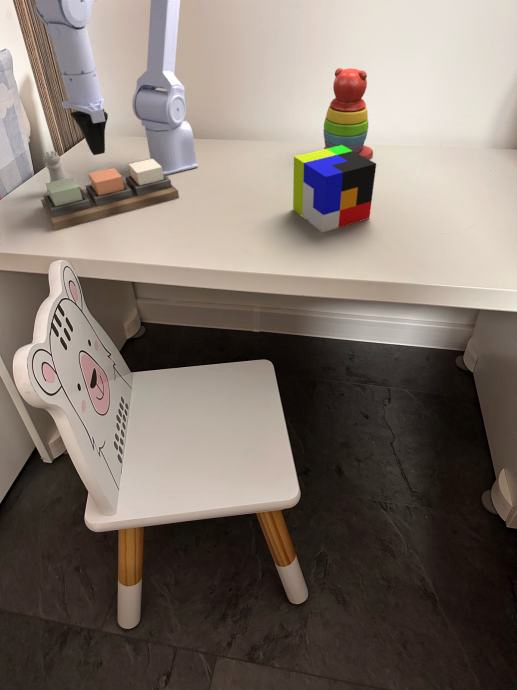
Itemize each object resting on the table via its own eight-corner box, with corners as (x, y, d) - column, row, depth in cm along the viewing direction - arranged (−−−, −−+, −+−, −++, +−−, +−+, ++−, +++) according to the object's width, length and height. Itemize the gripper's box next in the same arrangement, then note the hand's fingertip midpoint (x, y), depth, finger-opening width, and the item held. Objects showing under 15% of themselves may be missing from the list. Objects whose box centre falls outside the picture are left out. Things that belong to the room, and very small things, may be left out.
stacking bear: (375, 154, 112) (386, 65, 100) (357, 170, 105) (366, 77, 93) (332, 146, 116) (337, 60, 104) (311, 161, 110) (315, 71, 98)
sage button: (76, 189, 95) (72, 177, 93) (82, 199, 92) (79, 186, 90) (49, 196, 93) (45, 183, 92) (55, 206, 90) (51, 193, 88)
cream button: (154, 170, 101) (152, 158, 99) (163, 179, 97) (161, 167, 96) (131, 176, 99) (128, 164, 97) (139, 185, 96) (137, 172, 94)
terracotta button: (116, 180, 98) (113, 167, 96) (124, 189, 95) (121, 176, 93) (91, 186, 96) (88, 173, 95) (98, 195, 93) (95, 182, 91)
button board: (158, 178, 105) (156, 164, 103) (179, 197, 98) (176, 183, 96) (43, 206, 97) (38, 192, 95) (55, 230, 90) (50, 215, 88)
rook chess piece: (66, 198, 99) (54, 158, 94) (46, 196, 100) (33, 157, 95) (77, 188, 103) (66, 149, 97) (57, 187, 103) (45, 148, 98)
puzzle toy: (322, 232, 86) (325, 176, 80) (293, 209, 93) (293, 156, 86) (369, 218, 89) (376, 163, 83) (337, 197, 96) (341, 145, 90)
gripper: (45, 65, 86) (67, 145, 95) (63, 84, 76) (86, 171, 85) (85, 59, 88) (103, 138, 97) (108, 77, 79) (126, 162, 88)
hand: (98, 153), depth 92 cm, fingers closed
